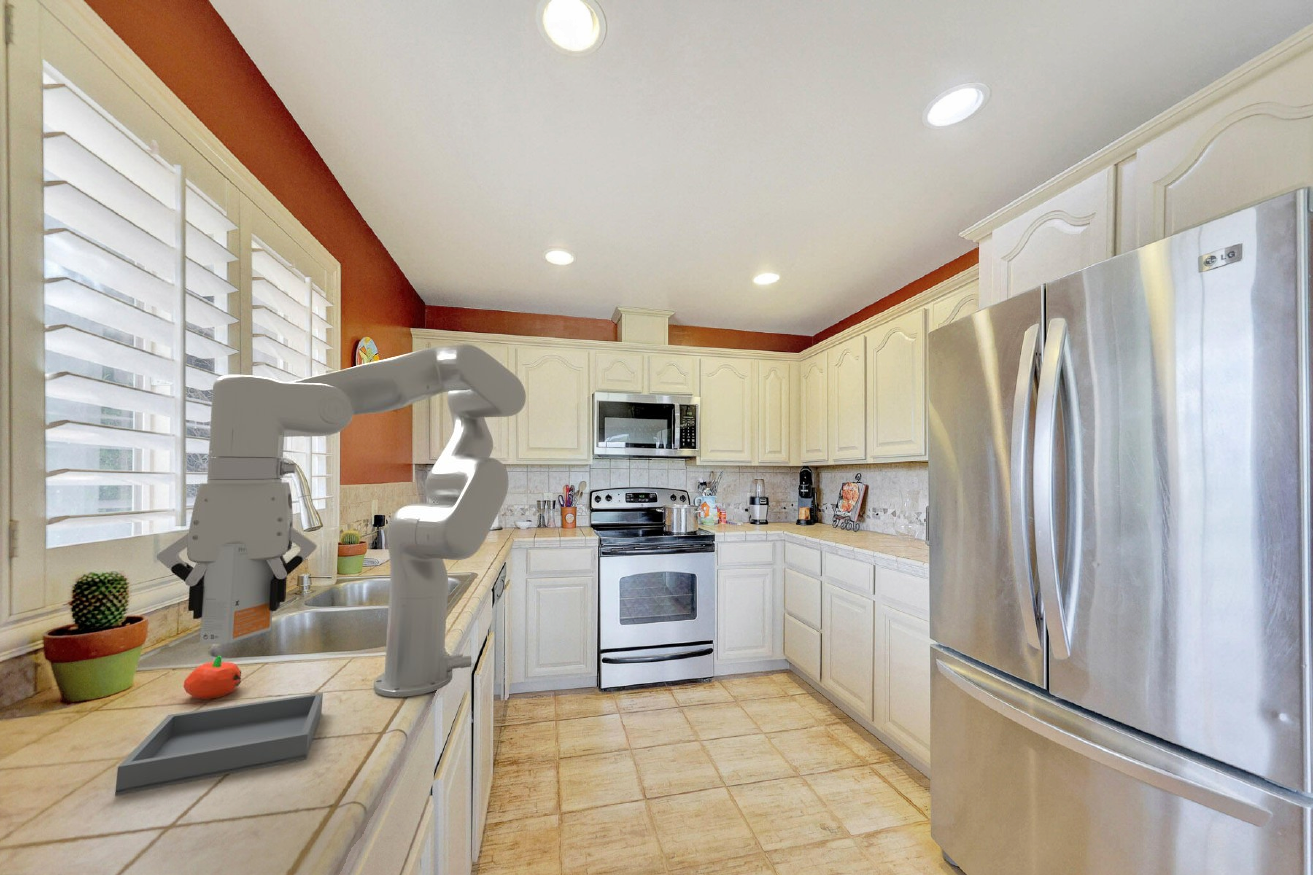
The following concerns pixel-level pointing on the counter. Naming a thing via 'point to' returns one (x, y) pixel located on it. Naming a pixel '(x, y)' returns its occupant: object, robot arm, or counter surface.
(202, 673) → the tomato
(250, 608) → the skincare box
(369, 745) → the counter surface
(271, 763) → the tray
